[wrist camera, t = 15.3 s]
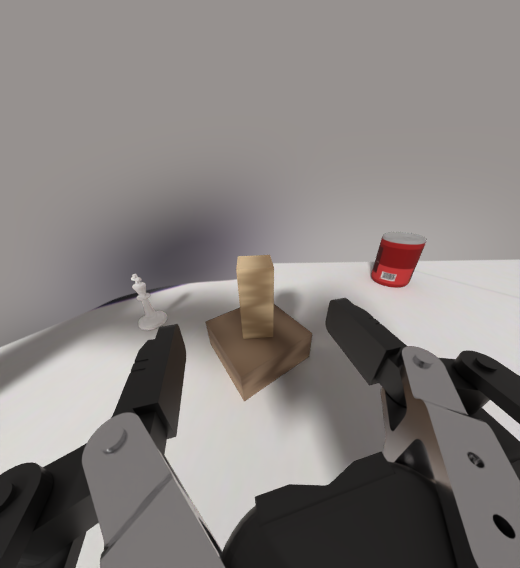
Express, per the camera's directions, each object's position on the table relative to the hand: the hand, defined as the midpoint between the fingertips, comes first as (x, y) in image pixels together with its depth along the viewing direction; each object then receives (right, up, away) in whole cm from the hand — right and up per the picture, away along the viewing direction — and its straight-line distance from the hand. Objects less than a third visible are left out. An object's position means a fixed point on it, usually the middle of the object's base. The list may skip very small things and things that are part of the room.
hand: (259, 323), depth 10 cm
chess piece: (-20, -5, +26) cm, 33 cm away
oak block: (0, -4, +17) cm, 17 cm away
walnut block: (0, -8, +19) cm, 21 cm away
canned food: (+32, +3, +36) cm, 48 cm away
